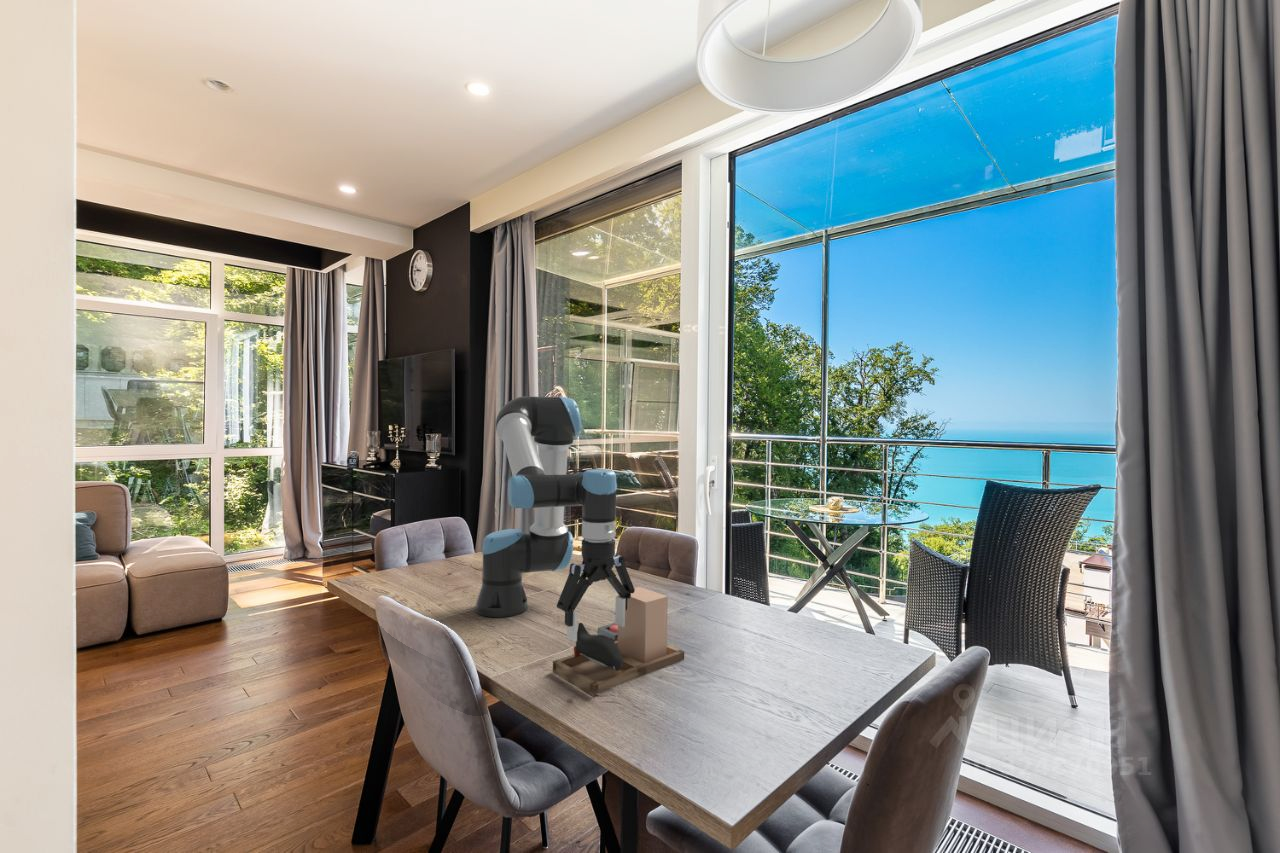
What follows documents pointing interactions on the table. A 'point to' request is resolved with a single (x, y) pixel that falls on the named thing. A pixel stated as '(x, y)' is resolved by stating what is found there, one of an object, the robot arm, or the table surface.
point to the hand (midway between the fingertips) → (596, 632)
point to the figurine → (598, 649)
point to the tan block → (644, 626)
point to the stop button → (614, 628)
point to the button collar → (608, 632)
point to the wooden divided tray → (608, 670)
